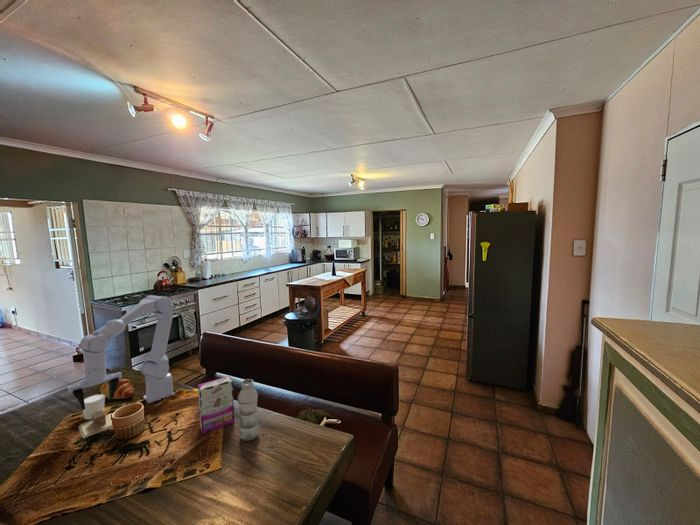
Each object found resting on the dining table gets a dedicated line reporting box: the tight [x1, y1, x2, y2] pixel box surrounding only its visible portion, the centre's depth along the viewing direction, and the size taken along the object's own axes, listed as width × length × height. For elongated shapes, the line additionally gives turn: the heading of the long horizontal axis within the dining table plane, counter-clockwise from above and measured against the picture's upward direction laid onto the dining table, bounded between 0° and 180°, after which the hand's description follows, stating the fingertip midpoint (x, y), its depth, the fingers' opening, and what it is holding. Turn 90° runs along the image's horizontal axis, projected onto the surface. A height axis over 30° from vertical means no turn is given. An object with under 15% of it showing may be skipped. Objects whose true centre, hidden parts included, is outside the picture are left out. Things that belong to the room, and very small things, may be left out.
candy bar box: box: [197, 375, 235, 435], centre depth 104 cm, size 11×5×16 cm, turn 126°
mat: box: [77, 425, 112, 439], centre depth 104 cm, size 10×10×1 cm
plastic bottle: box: [237, 378, 260, 442], centre depth 98 cm, size 6×7×20 cm
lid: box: [79, 410, 113, 438], centre depth 104 cm, size 9×9×4 cm
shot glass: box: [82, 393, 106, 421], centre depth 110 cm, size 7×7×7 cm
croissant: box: [99, 378, 135, 400], centre depth 126 cm, size 21×10×8 cm, turn 69°
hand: (97, 403), depth 103 cm, fingers open, 7 cm apart
